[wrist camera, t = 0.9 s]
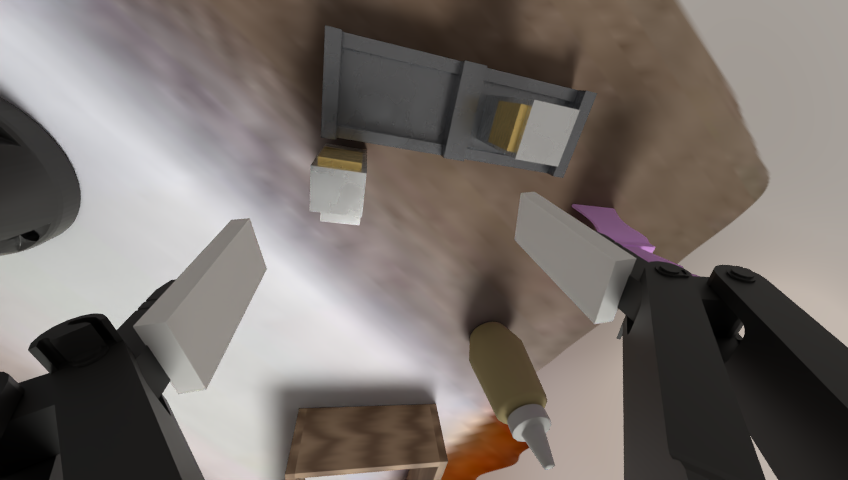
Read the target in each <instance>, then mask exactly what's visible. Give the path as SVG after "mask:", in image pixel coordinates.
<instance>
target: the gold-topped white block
mask: <svg viewBox="0 0 848 480" xmlns="http://www.w3.org/2000/svg"><path fill="white" fill-rule="evenodd" d="M366 174H367V150H365V149H359V148H353V147H346V146H340V145H334V144H328V143H326V144H325V146H324V147H323V148H322V150H321V151H320V153H319V154H318V156H317V157H316V158H315V160H314V161H313V163H312V164H311V173H310V211H312V212H321V217H320V221H323V222H333V223H343V224H352V225H360V217H362V211H363V201H364V192H365V183H366Z"/></svg>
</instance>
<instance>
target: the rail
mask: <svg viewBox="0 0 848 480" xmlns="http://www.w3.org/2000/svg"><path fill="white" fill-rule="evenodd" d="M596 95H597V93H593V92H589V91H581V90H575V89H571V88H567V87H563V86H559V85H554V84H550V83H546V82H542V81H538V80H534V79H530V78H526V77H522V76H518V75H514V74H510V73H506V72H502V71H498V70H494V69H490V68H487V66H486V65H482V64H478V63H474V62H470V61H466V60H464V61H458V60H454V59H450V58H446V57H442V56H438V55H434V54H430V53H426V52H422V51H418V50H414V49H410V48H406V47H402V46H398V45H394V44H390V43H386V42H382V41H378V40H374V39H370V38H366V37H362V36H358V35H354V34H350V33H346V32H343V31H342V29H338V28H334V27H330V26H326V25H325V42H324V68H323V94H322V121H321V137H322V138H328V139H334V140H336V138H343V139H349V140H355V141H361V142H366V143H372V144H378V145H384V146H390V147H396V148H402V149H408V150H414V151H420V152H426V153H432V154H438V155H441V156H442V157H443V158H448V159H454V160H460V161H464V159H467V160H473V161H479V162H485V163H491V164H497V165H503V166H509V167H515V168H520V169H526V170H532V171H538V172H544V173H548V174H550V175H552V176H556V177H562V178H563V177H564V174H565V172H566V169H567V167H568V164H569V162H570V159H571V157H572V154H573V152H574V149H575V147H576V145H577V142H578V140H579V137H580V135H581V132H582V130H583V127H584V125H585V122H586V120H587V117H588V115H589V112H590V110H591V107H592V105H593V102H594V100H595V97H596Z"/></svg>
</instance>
